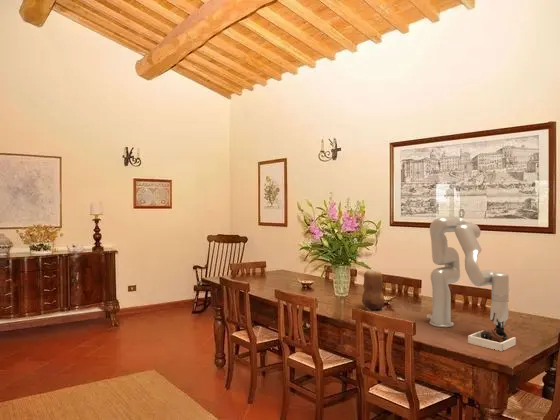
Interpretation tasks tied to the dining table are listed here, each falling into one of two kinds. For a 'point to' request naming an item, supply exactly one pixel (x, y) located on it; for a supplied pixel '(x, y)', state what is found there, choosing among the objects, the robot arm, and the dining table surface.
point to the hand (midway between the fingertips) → (499, 335)
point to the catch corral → (490, 342)
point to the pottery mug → (492, 331)
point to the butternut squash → (373, 290)
